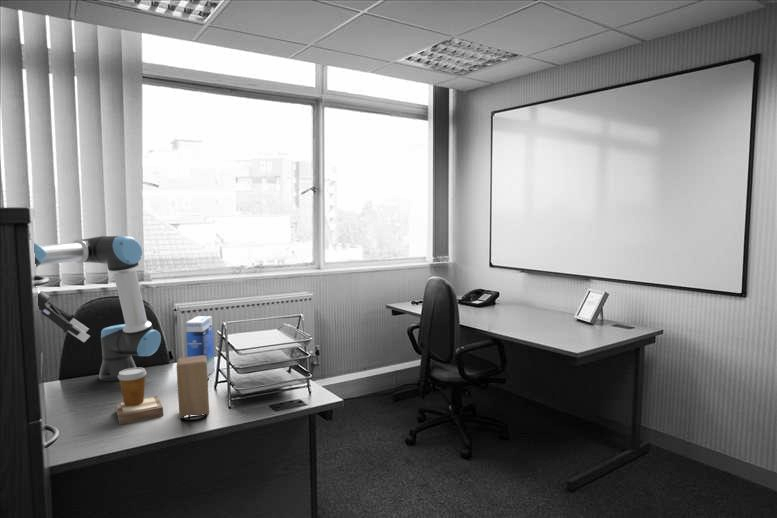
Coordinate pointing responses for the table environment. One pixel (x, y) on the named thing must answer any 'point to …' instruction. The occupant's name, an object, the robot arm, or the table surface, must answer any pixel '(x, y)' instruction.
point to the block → (192, 385)
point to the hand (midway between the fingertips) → (86, 335)
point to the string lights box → (201, 339)
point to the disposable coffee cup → (132, 385)
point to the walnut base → (139, 410)
